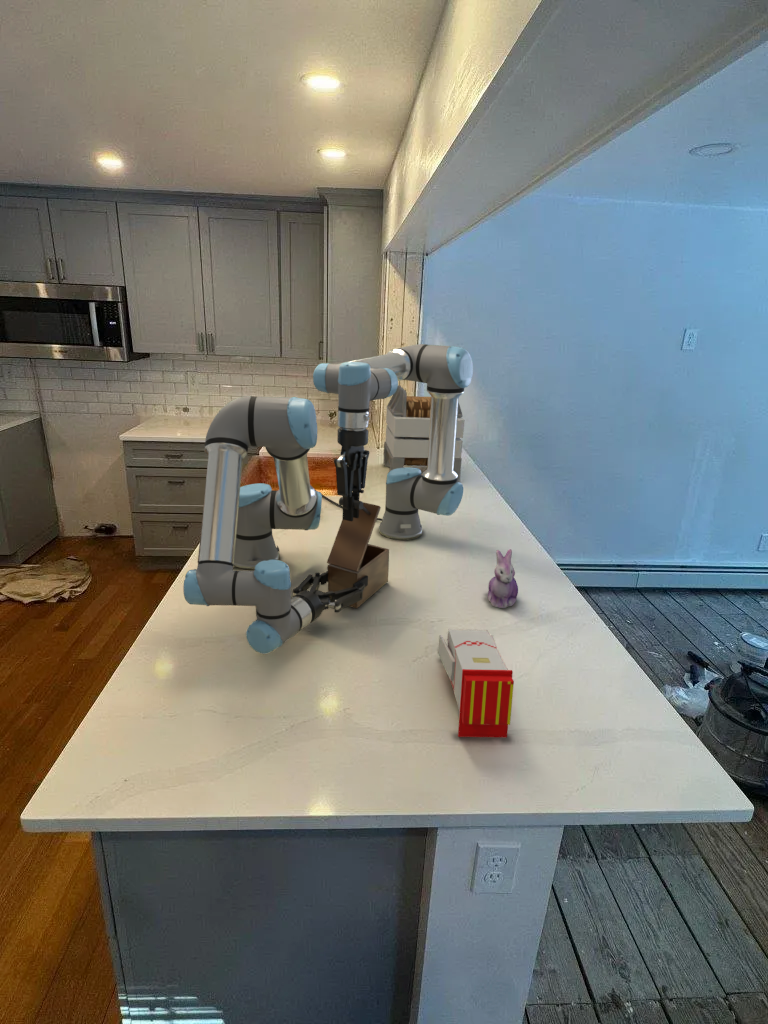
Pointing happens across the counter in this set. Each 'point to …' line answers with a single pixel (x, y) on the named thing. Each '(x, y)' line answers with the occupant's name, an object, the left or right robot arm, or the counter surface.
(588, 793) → the counter surface
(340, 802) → the counter surface
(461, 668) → the toy
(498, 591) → the figurine
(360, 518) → the brown handled panel
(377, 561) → the chest
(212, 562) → the left robot arm
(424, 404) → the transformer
